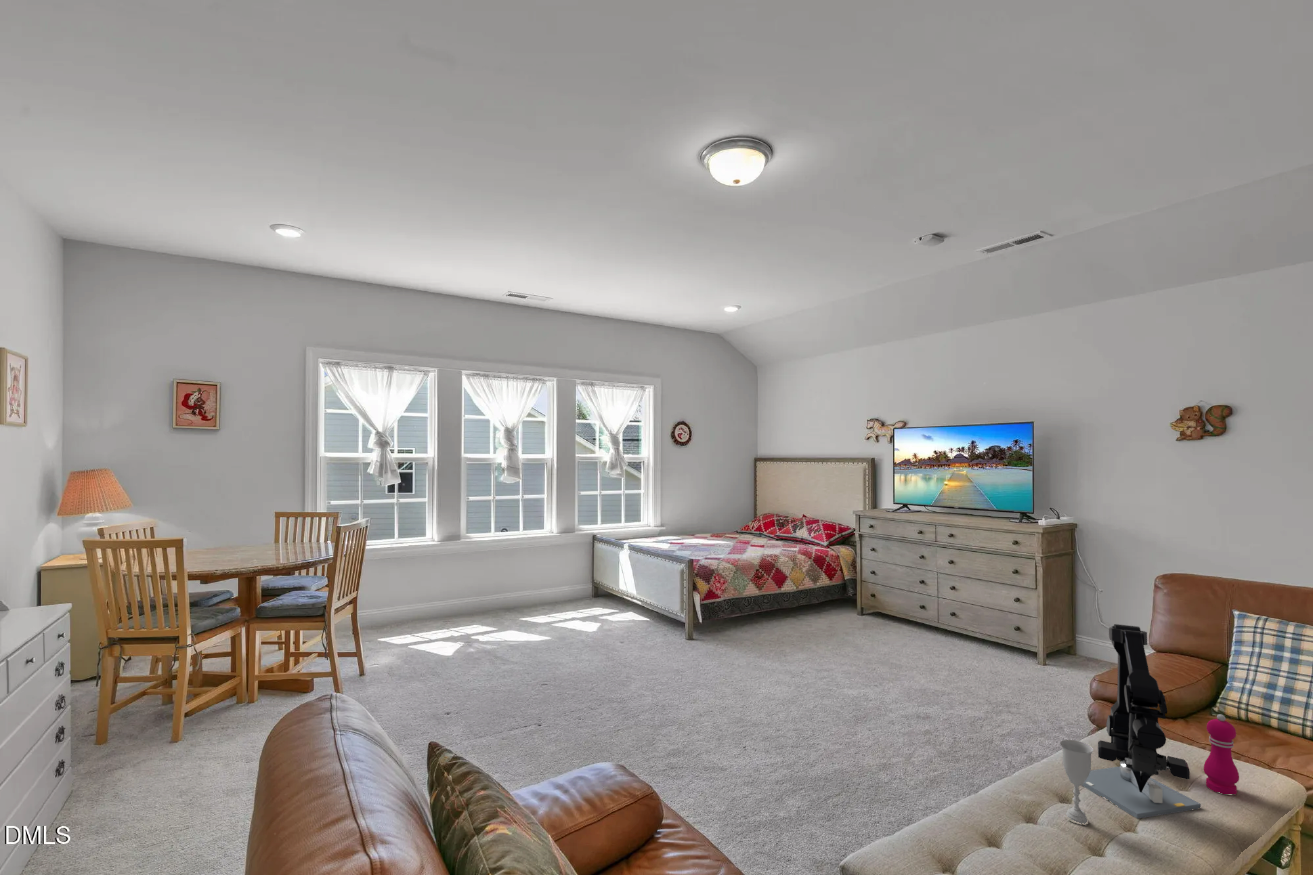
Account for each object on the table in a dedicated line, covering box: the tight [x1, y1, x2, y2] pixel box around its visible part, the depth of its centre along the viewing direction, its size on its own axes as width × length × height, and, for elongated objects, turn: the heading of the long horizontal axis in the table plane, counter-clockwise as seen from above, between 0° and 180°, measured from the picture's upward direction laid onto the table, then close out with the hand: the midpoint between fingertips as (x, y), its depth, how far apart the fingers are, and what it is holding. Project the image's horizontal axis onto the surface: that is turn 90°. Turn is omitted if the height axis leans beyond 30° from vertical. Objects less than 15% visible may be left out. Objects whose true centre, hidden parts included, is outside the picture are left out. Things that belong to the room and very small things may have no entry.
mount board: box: [1081, 766, 1202, 820], centre depth 173 cm, size 20×20×1 cm
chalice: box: [1059, 739, 1094, 824], centre depth 160 cm, size 7×7×18 cm
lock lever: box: [1119, 760, 1162, 803], centre depth 172 cm, size 15×4×4 cm, turn 172°
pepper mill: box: [1203, 714, 1240, 795], centre depth 174 cm, size 7×7×20 cm
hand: (1140, 791), depth 168 cm, fingers closed
